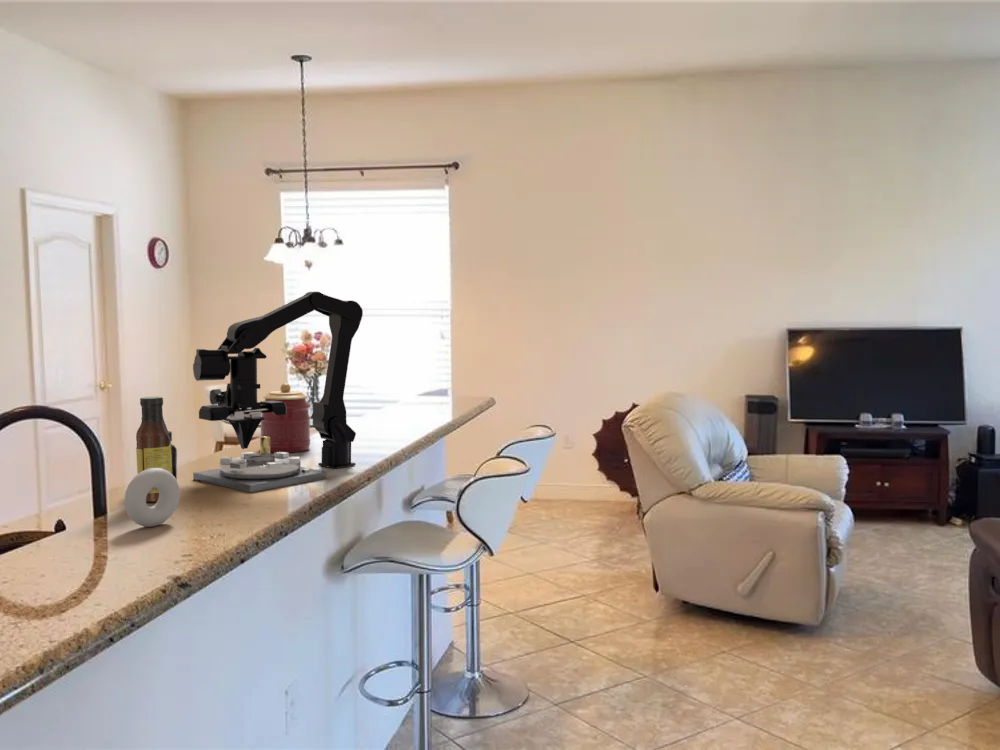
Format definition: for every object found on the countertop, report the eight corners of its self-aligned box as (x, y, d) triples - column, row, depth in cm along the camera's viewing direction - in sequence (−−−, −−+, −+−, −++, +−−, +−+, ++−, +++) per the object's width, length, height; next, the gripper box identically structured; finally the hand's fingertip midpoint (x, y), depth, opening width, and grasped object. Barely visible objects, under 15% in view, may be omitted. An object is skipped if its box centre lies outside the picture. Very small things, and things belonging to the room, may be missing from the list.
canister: (288, 444, 233) (288, 380, 232) (320, 449, 225) (320, 383, 224) (249, 449, 223) (249, 383, 221) (282, 455, 215) (282, 386, 214)
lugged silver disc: (268, 461, 196) (268, 433, 195) (316, 470, 186) (316, 441, 185) (203, 471, 182) (203, 441, 182) (252, 482, 172) (252, 450, 172)
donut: (132, 534, 137) (132, 473, 137) (119, 530, 139) (119, 471, 139) (184, 521, 146) (184, 464, 145) (171, 519, 148) (171, 462, 147)
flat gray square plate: (269, 467, 198) (269, 458, 198) (326, 478, 186) (326, 469, 186) (193, 479, 182) (193, 469, 182) (250, 492, 170) (250, 482, 170)
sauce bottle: (180, 498, 164) (179, 396, 163) (157, 504, 158) (156, 399, 157) (152, 495, 166) (151, 395, 165) (129, 501, 160) (128, 397, 159)
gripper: (261, 375, 199) (262, 440, 200) (186, 378, 186) (187, 449, 187) (287, 378, 192) (288, 446, 193) (211, 382, 178) (212, 455, 179)
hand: (244, 448), depth 188 cm, fingers closed
